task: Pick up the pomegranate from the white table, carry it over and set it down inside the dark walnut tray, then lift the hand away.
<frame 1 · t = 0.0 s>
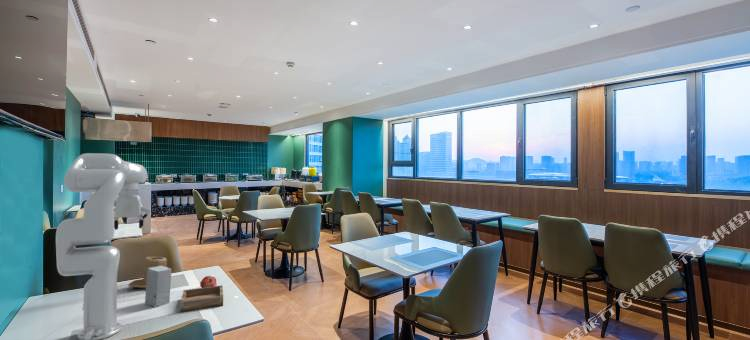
hand: (128, 228, 166), 31 cm above the table, tool pointing down, fingers open, 9 cm apart
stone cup: (150, 286, 176), on the table
pomegranate: (208, 290, 170), on the table
walnut tray: (202, 302, 155), on the table
skincare box: (158, 303, 153), on the table
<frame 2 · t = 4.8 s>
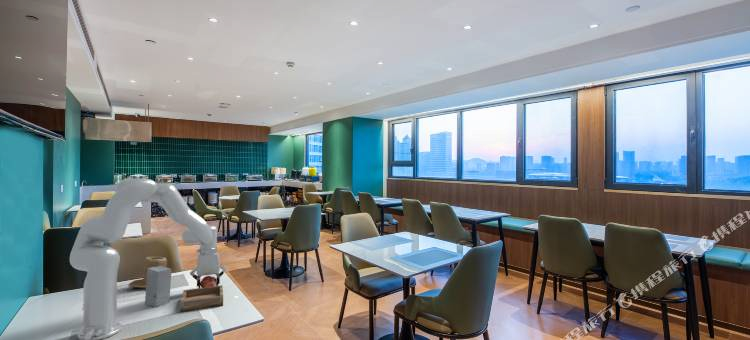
hand: (208, 286, 170), 2 cm above the table, tool pointing down, fingers closed on pomegranate, 7 cm apart
pomegranate: (208, 290, 170), on the table, touching gripper
everything else where it was.
when the fingers open (4 cm above the table, at t = 12.4 s): pomegranate drops 1 cm, resting on walnut tray.
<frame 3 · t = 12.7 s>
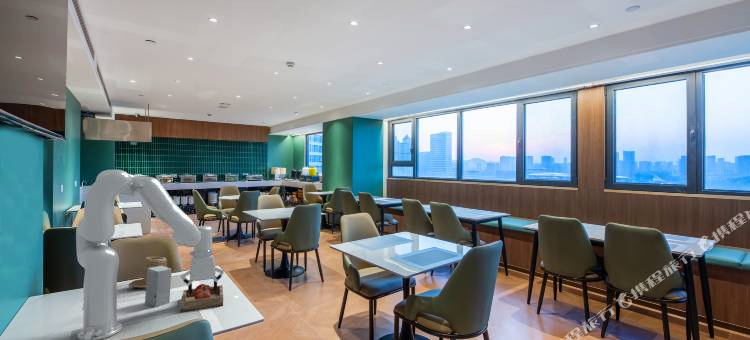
hand: (202, 291, 155), 5 cm above the table, tool pointing down, fingers open, 9 cm apart
pomegranate: (202, 300, 154), point 1 cm above the table, touching walnut tray
everything else where it was.
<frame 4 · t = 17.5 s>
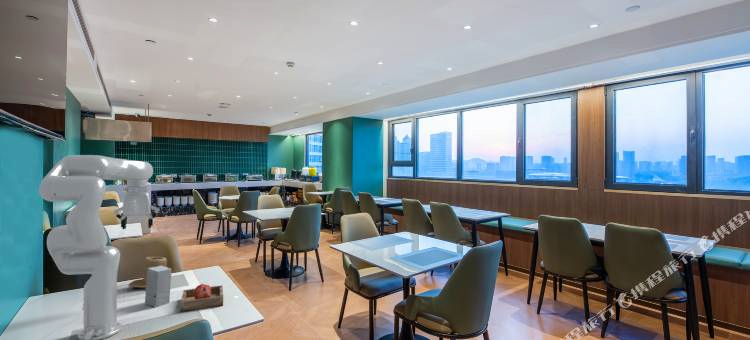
hand: (137, 228, 155), 33 cm above the table, tool pointing down, fingers open, 9 cm apart
nothing on the table moved.
at the end: pomegranate inside the target area on the walnut tray (0.3 cm from its centre), point 0.8 cm above the walnut tray's base; the gripper is holding nothing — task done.
